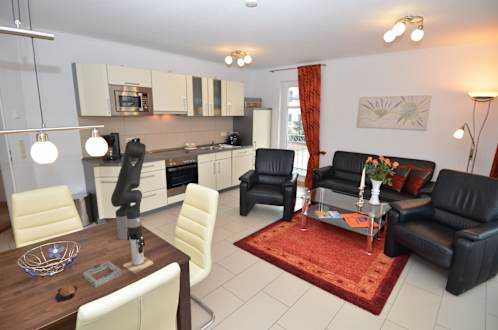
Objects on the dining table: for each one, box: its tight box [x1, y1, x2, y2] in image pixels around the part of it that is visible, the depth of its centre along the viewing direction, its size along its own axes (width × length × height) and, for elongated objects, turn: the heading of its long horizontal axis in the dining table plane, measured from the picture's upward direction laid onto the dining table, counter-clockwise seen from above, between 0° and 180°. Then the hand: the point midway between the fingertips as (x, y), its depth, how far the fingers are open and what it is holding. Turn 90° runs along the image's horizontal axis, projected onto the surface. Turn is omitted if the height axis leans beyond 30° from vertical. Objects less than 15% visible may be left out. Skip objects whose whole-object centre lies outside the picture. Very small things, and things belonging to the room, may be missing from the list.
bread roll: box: [54, 285, 78, 303], centre depth 125 cm, size 11×8×4 cm
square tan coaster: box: [122, 256, 154, 275], centre depth 149 cm, size 12×12×1 cm
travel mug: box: [129, 232, 145, 266], centre depth 146 cm, size 6×7×20 cm
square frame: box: [83, 260, 122, 289], centre depth 138 cm, size 13×13×4 cm
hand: (136, 250), depth 147 cm, fingers open, 8 cm apart
